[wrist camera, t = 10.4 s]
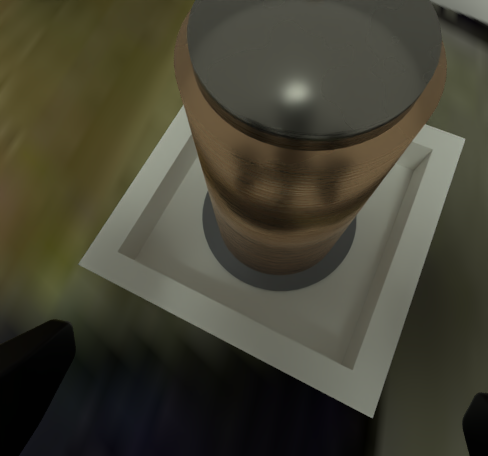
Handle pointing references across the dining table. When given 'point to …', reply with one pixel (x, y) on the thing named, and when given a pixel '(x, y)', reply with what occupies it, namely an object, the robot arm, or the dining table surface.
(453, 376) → the dining table surface
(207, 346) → the dining table surface
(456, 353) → the dining table surface
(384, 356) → the tray
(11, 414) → the robot arm
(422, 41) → the spout can
